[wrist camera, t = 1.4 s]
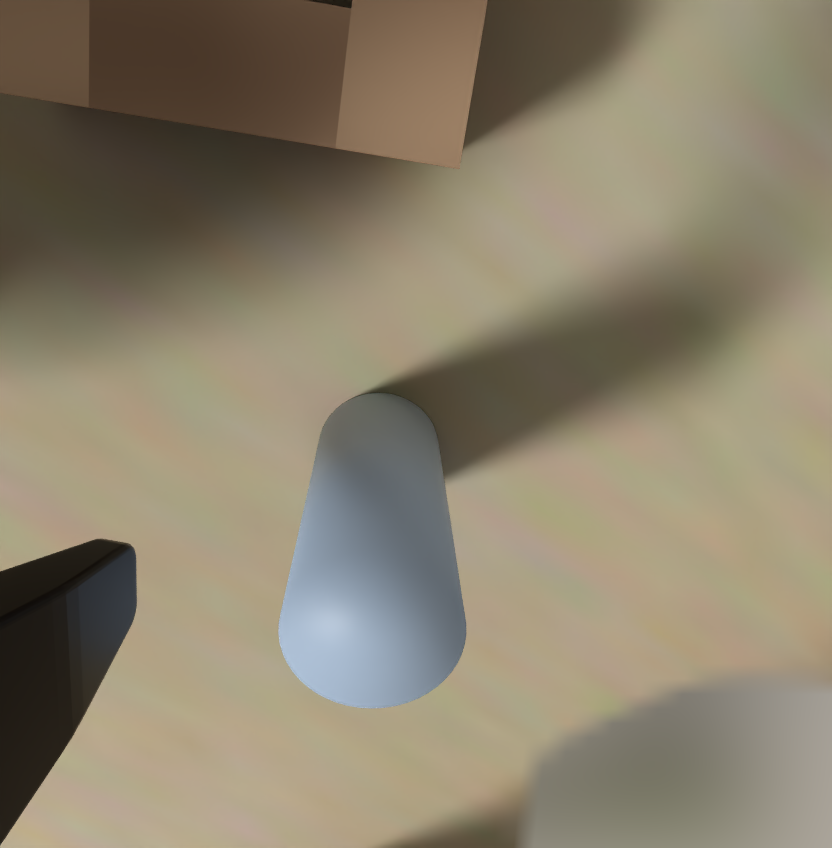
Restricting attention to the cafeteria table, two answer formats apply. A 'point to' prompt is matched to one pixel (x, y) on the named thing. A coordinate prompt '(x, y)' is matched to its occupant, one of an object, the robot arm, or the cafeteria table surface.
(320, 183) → the cafeteria table surface
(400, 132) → the socket block
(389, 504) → the peg
